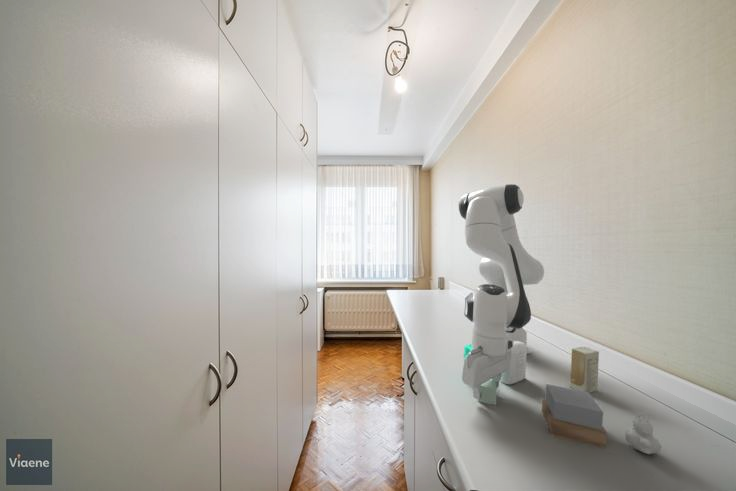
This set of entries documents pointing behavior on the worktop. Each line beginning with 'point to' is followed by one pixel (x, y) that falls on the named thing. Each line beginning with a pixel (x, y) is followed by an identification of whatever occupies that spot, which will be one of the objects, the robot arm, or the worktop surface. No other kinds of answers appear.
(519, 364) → the photo printer
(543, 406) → the walnut block
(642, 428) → the white figurine
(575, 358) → the skincare box
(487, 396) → the sage cube
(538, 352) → the worktop surface
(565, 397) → the gray block
